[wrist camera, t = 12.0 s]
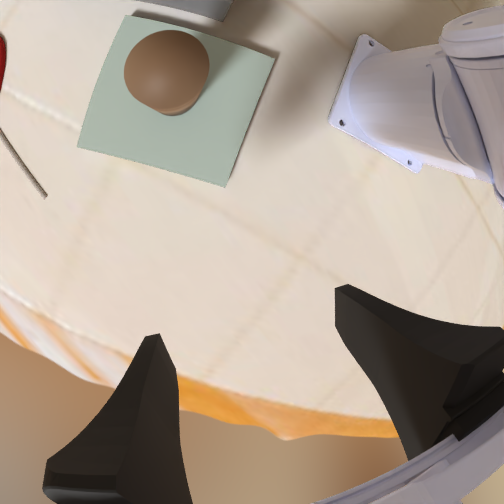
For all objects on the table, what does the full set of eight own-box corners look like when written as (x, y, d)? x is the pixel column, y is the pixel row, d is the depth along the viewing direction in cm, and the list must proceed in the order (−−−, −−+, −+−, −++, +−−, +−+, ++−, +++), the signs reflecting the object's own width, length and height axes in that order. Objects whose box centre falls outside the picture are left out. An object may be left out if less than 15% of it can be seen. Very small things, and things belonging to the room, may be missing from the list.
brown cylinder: (206, 78, 16) (222, 44, 9) (188, 122, 17) (190, 119, 10) (160, 63, 15) (144, 21, 8) (142, 108, 16) (111, 96, 9)
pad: (271, 61, 17) (275, 59, 16) (223, 185, 20) (225, 187, 19) (127, 18, 14) (125, 15, 13) (80, 146, 16) (76, 147, 16)
